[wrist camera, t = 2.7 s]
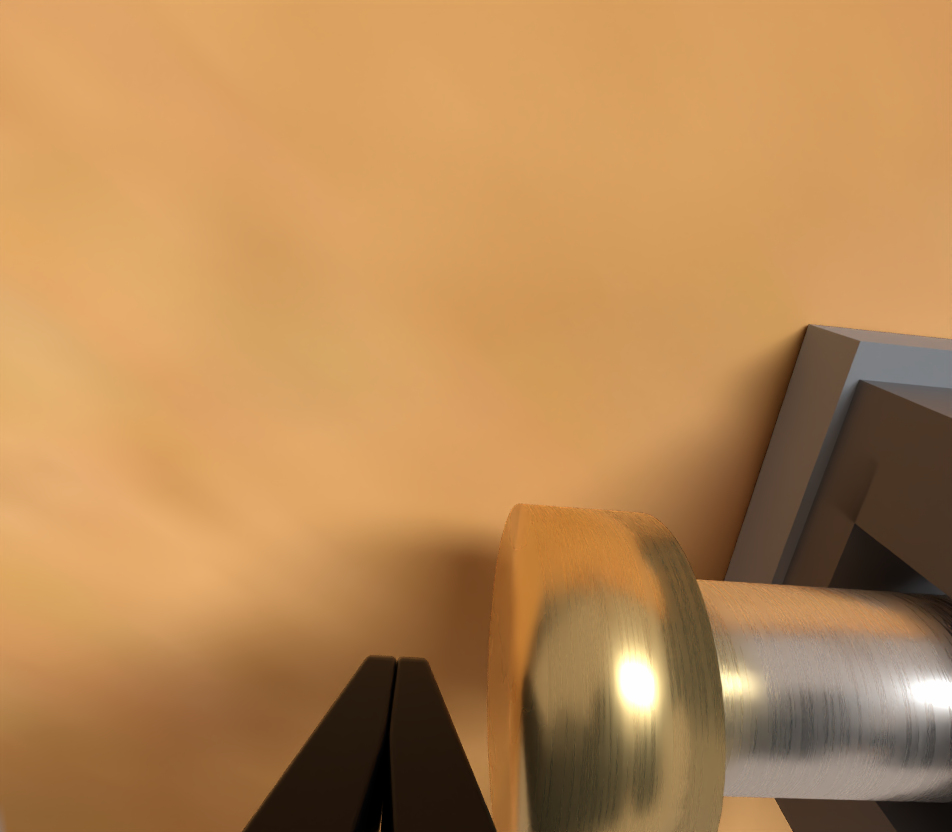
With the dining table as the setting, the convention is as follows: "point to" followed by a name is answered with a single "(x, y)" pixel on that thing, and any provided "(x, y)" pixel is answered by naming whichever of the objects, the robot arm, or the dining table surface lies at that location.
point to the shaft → (697, 684)
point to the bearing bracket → (858, 504)
